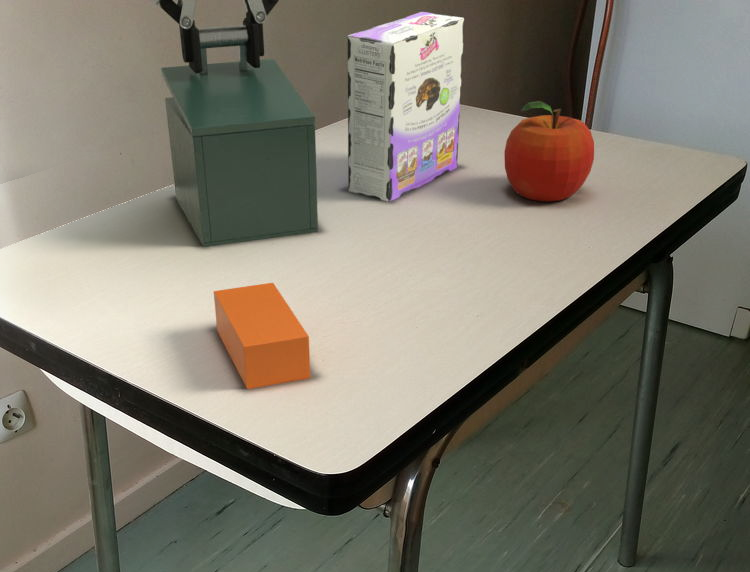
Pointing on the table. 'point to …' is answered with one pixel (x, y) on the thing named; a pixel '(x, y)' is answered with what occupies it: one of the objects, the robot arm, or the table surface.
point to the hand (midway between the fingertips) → (224, 65)
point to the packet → (262, 335)
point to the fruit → (548, 155)
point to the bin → (244, 181)
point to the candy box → (403, 104)
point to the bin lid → (234, 90)
